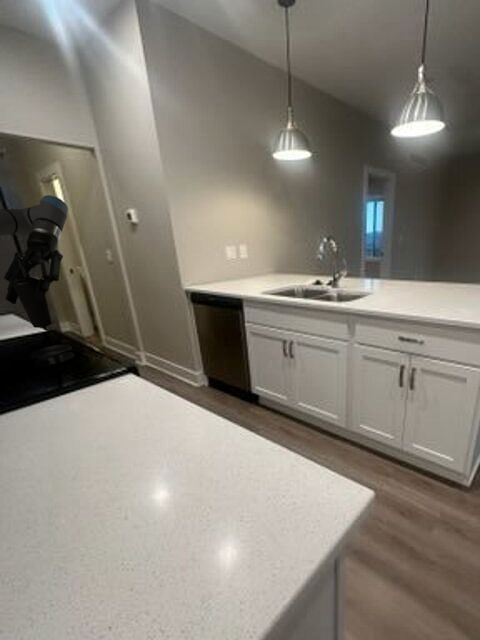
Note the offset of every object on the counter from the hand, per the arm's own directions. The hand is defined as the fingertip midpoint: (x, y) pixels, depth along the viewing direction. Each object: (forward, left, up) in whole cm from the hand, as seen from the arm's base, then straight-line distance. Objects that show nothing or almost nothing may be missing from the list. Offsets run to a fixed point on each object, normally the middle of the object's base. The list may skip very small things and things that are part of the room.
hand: (24, 300), depth 100 cm
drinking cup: (-1, +3, -9) cm, 9 cm away
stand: (-1, +3, -21) cm, 21 cm away
